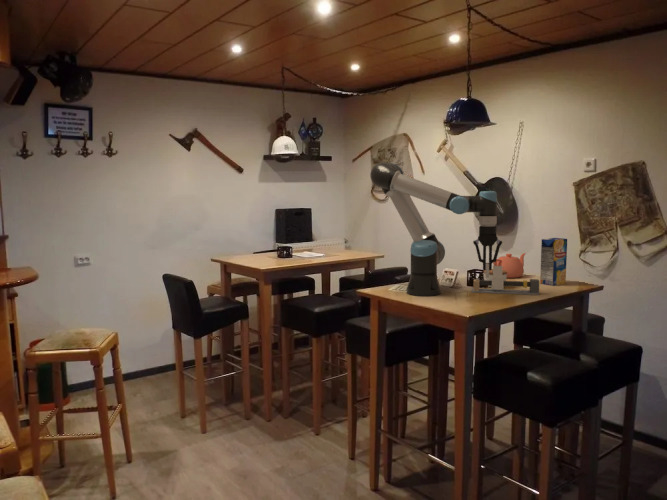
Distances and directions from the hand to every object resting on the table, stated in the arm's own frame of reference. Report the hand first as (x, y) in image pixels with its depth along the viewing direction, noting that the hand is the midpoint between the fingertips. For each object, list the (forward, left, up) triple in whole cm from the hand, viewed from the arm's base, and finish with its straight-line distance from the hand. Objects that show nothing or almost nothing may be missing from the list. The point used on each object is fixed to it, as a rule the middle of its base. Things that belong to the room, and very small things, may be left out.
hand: (487, 277), depth 241 cm
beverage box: (+32, +27, -7) cm, 43 cm away
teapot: (+13, +45, -7) cm, 47 cm away
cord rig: (+8, 0, -7) cm, 10 cm away
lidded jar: (+4, +13, -7) cm, 15 cm away
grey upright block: (+5, 0, -5) cm, 7 cm away
